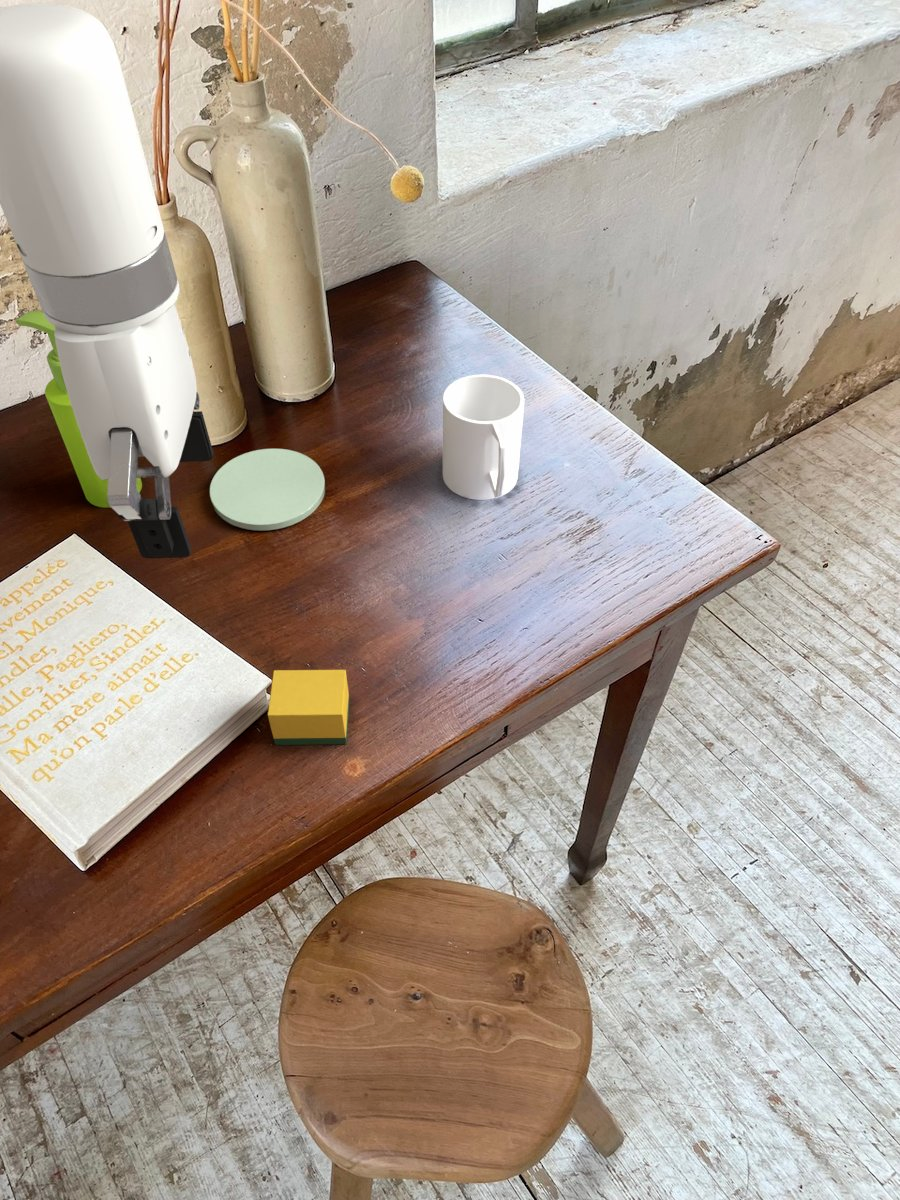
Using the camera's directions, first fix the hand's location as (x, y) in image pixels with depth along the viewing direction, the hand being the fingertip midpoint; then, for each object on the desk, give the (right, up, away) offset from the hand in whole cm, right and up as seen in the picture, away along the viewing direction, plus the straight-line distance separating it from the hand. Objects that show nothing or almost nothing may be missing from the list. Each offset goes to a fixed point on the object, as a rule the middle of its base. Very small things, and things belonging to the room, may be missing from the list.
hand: (180, 504), depth 62 cm
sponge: (+7, -17, +15) cm, 23 cm away
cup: (+22, +6, +35) cm, 42 cm away
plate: (-1, +5, +33) cm, 34 cm away
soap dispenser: (-18, +5, +34) cm, 38 cm away
